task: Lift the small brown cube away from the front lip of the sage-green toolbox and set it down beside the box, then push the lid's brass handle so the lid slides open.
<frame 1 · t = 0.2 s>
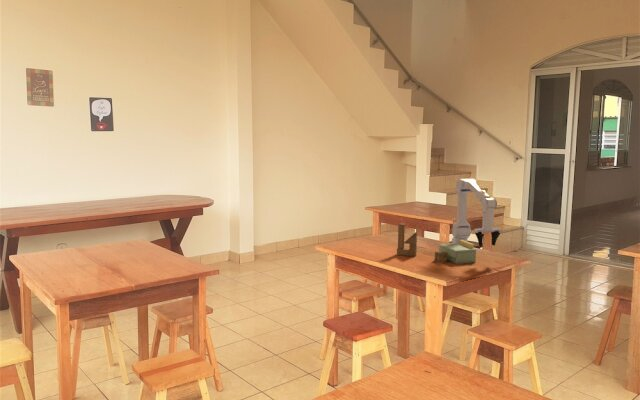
hand: (486, 245, 285), 10 cm above the table, tool pointing down, fingers open, 7 cm apart
toolbox: (457, 259, 295), on the table
lid: (457, 248, 294), point 6 cm above the table, slide at 0.0 cm
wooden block: (406, 255, 304), on the table
small brown cube: (440, 261, 292), on the table
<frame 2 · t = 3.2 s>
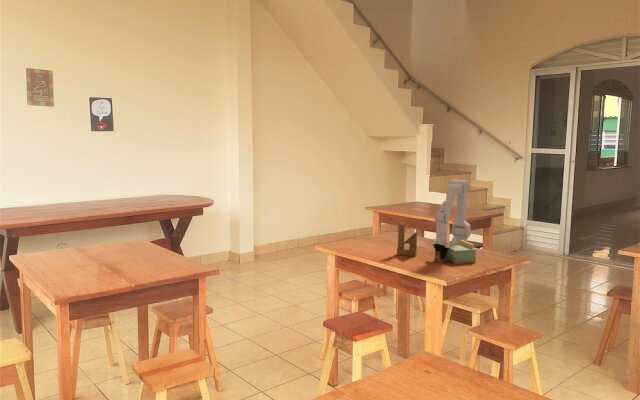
hand: (440, 257, 292), 2 cm above the table, tool pointing down, fingers closed on small brown cube, 4 cm apart
small brown cube: (440, 260, 292), on the table, touching gripper
everything else where it was.
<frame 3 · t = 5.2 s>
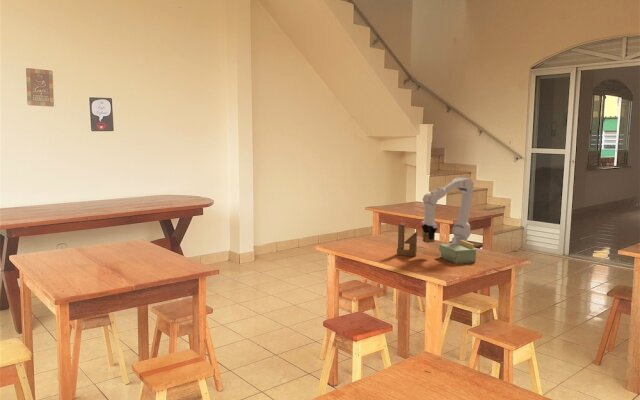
hand: (428, 238, 300), 10 cm above the table, tool pointing down, fingers closed on small brown cube, 4 cm apart
small brown cube: (428, 241, 300), point 9 cm above the table, touching gripper
everything else where it was.
when the fingers open (3 cm above the table, at t = 7.3 s): small brown cube drops 1 cm, on the table.
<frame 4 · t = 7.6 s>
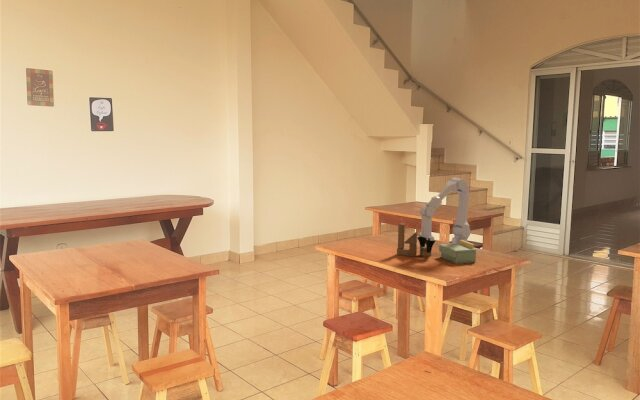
hand: (425, 250, 303), 3 cm above the table, tool pointing down, fingers open, 7 cm apart
small brown cube: (425, 255, 304), on the table
everything else where it was.
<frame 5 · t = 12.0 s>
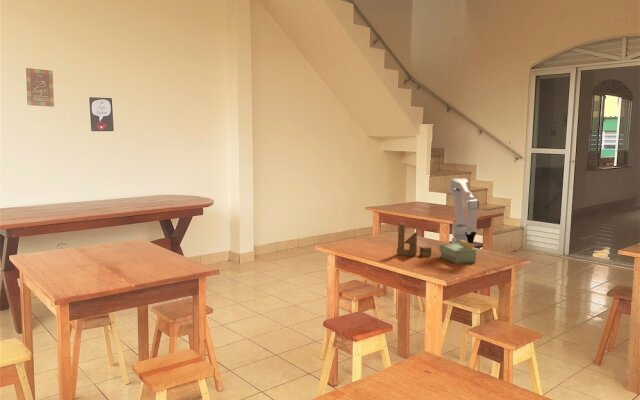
hand: (470, 244, 296), 8 cm above the table, tool pointing down, fingers closed
lid: (457, 248, 294), point 6 cm above the table, slide at 0.0 cm, touching gripper
everything else where it was.
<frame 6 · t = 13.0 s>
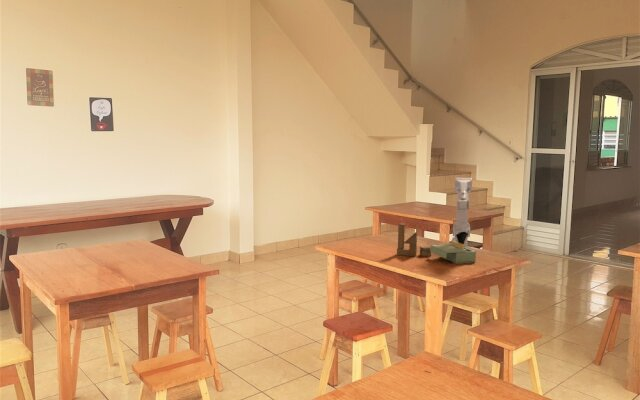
hand: (461, 245, 294), 8 cm above the table, tool pointing down, fingers closed
lid: (448, 248, 292), point 6 cm above the table, slide at 5.8 cm, touching gripper
everything else where it was.
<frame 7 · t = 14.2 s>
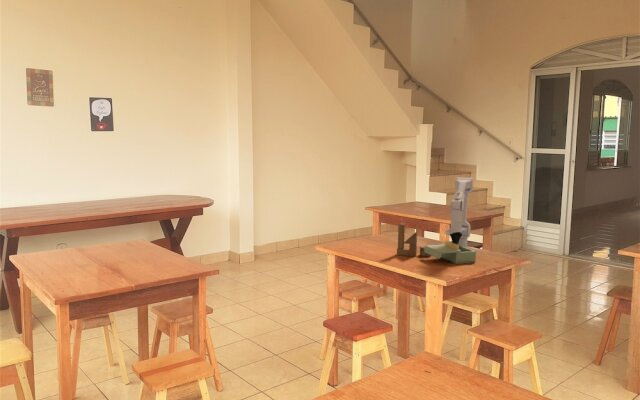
hand: (455, 245, 293), 8 cm above the table, tool pointing down, fingers closed
lid: (442, 249, 291), point 6 cm above the table, slide at 9.3 cm, touching gripper
everything else where it was.
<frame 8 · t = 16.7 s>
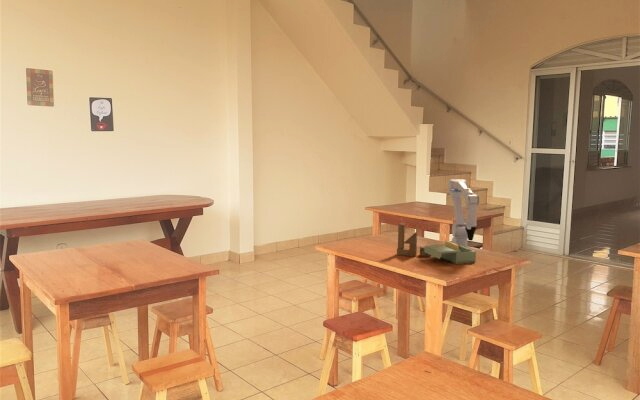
hand: (470, 240, 296), 10 cm above the table, tool pointing down, fingers closed
lid: (442, 249, 291), point 6 cm above the table, slide at 9.3 cm
everything else where it was.
at the end: lid slide at 9.3 cm; small brown cube inside the target area (0.5 cm from its centre), on the table; small brown cube tilted 0° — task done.
